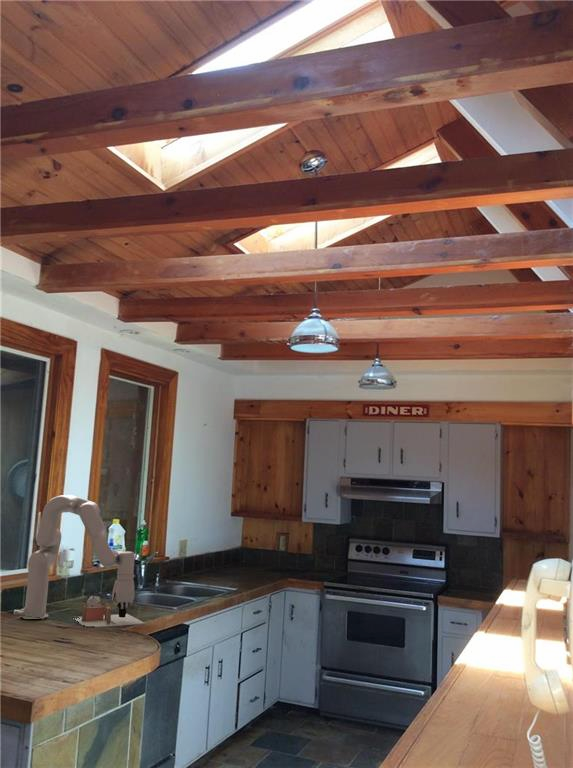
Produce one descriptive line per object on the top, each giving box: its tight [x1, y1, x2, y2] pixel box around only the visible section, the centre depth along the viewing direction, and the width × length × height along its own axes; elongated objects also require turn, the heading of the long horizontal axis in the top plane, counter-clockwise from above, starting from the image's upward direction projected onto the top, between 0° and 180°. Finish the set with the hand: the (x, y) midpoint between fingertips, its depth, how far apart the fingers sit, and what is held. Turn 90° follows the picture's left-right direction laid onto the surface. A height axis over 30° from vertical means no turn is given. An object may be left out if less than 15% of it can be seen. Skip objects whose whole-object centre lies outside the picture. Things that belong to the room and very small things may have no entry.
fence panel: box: [106, 605, 112, 624], centre depth 315 cm, size 11×2×7 cm, turn 19°
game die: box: [84, 594, 104, 608], centre depth 342 cm, size 9×8×10 cm
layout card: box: [72, 613, 146, 628], centre depth 319 cm, size 28×24×1 cm
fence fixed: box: [81, 603, 111, 621], centre depth 319 cm, size 13×2×7 cm, turn 123°
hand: (121, 616), depth 319 cm, fingers closed
